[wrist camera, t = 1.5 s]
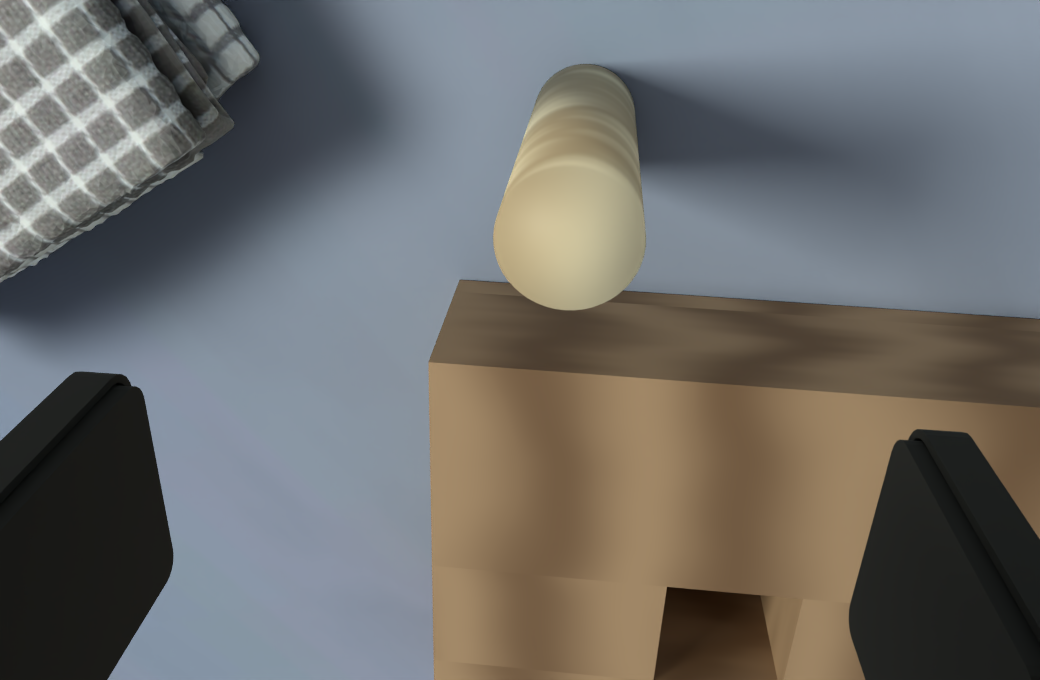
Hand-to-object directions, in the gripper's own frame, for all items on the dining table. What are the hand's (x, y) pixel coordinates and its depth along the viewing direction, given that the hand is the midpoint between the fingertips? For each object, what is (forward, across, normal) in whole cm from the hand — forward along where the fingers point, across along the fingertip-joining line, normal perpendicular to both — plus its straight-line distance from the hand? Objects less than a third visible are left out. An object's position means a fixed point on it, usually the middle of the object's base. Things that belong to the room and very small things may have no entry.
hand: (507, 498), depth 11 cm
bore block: (+20, -7, +16) cm, 26 cm away
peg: (+20, -1, 0) cm, 20 cm away
